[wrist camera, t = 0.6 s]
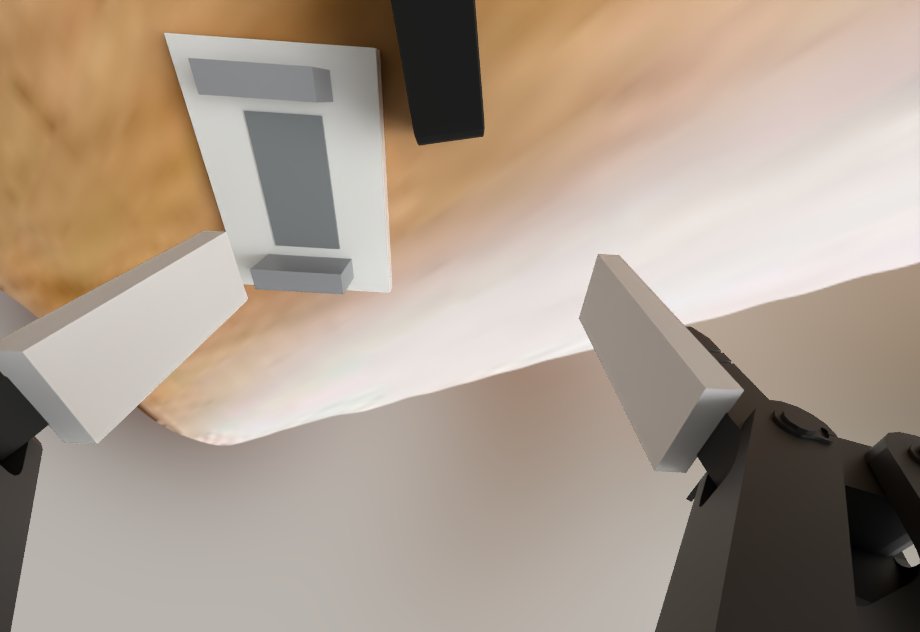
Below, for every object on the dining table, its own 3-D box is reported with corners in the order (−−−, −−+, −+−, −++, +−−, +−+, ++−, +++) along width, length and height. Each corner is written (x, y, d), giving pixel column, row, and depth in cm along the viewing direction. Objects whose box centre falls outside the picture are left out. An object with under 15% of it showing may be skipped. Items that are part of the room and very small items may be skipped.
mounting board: (178, 35, 26) (122, 23, 22) (379, 50, 26) (363, 41, 22) (250, 277, 37) (221, 301, 32) (392, 285, 37) (382, 310, 33)
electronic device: (430, 132, 29) (415, 147, 21) (405, -31, 24) (372, -101, 15) (479, 125, 29) (485, 137, 20) (466, -42, 23) (466, -120, 15)
